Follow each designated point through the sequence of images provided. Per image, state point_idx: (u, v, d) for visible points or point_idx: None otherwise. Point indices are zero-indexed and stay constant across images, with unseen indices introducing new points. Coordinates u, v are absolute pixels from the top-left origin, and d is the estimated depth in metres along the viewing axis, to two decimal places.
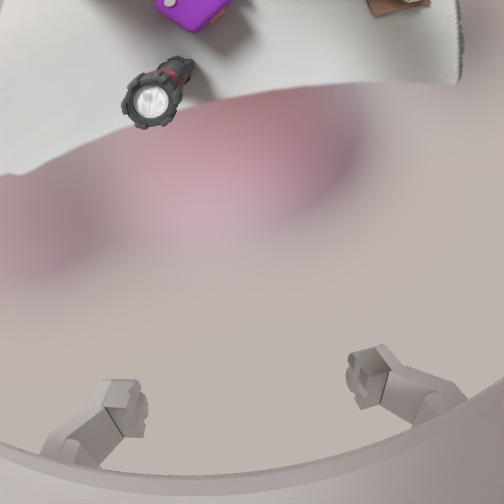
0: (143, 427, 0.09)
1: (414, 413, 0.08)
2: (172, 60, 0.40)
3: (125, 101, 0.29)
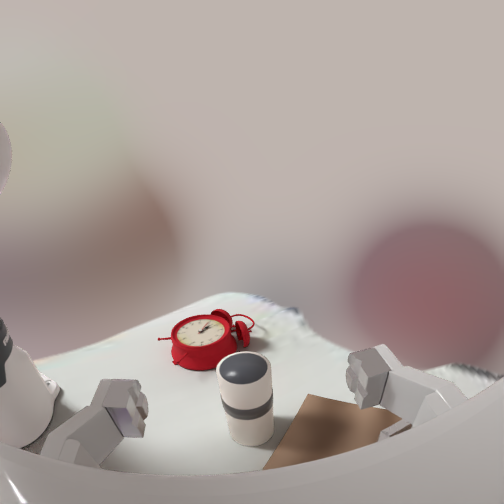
0: (143, 427, 0.09)
1: (414, 413, 0.08)
2: None
3: None
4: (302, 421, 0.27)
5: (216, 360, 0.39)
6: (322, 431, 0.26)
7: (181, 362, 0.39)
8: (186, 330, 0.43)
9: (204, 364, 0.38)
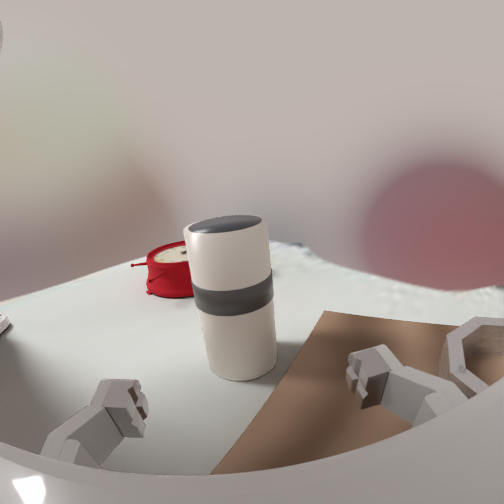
0: (143, 427, 0.09)
1: (414, 413, 0.08)
2: None
3: None
4: (320, 341, 0.20)
5: None
6: None
7: (156, 288, 0.31)
8: (166, 253, 0.35)
9: (185, 288, 0.31)
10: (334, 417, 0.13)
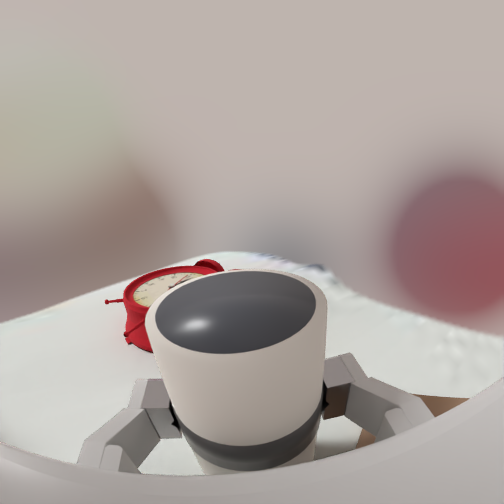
0: None
1: (378, 427, 0.07)
2: None
3: None
4: None
5: None
6: None
7: (136, 339, 0.22)
8: (150, 286, 0.26)
9: None
10: None
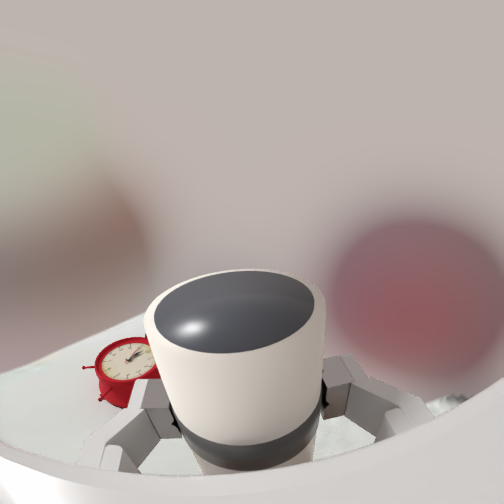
0: None
1: (378, 427, 0.07)
2: None
3: None
4: None
5: None
6: None
7: (107, 397, 0.28)
8: (113, 357, 0.32)
9: None
10: None
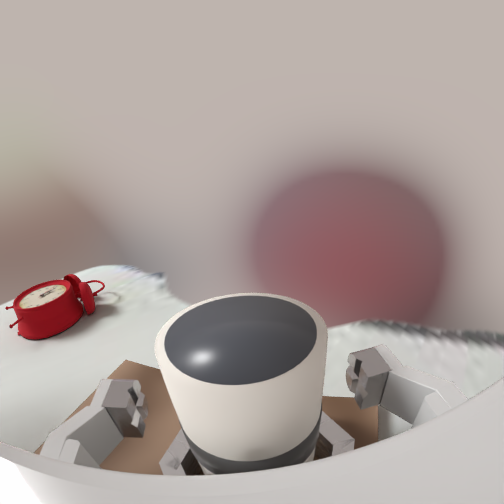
0: (143, 427, 0.09)
1: (414, 413, 0.08)
2: None
3: None
4: None
5: (51, 326, 0.27)
6: None
7: (21, 331, 0.26)
8: (31, 296, 0.29)
9: (39, 331, 0.26)
10: None
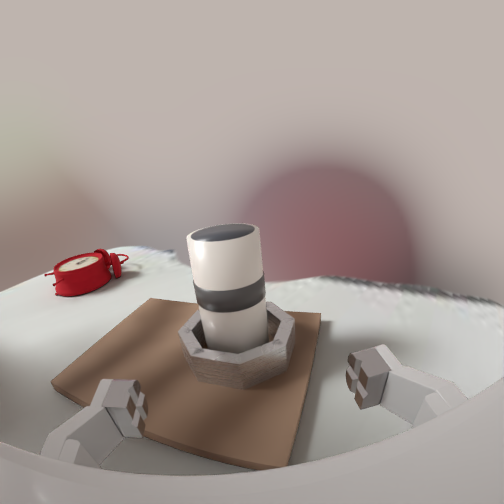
0: (143, 427, 0.09)
1: (414, 413, 0.08)
2: None
3: None
4: (135, 316, 0.29)
5: (88, 285, 0.38)
6: (150, 323, 0.28)
7: (60, 290, 0.37)
8: (67, 264, 0.41)
9: (77, 289, 0.37)
10: (119, 356, 0.22)
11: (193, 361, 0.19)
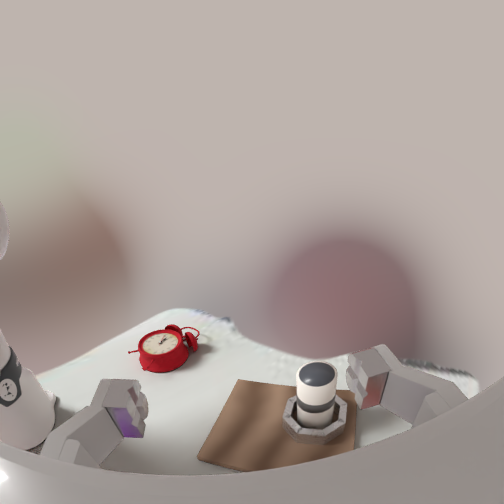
0: (143, 427, 0.09)
1: (414, 413, 0.08)
2: None
3: None
4: (235, 397, 0.42)
5: (175, 363, 0.51)
6: (249, 403, 0.40)
7: (149, 367, 0.49)
8: (148, 343, 0.53)
9: (166, 367, 0.50)
10: (239, 431, 0.35)
11: (297, 435, 0.31)
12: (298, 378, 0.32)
